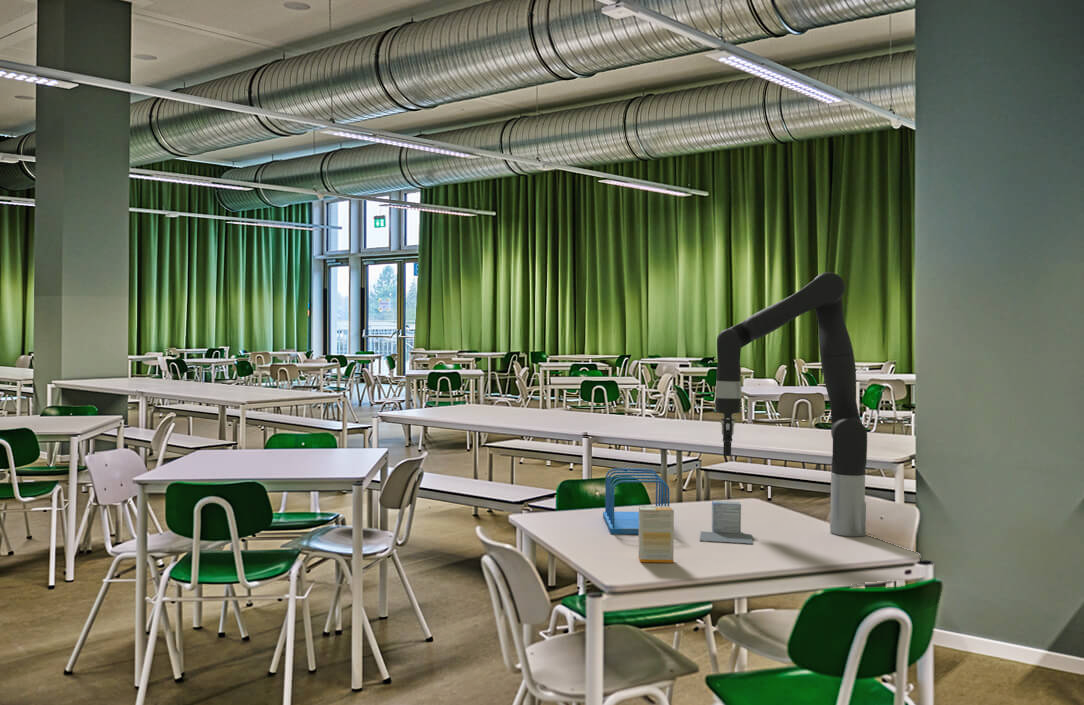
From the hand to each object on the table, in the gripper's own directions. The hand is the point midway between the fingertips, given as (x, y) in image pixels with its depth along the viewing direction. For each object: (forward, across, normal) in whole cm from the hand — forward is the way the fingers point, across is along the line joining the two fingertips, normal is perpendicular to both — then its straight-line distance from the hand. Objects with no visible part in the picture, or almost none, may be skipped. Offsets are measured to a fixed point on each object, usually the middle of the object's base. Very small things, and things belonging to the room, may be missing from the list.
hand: (727, 454), depth 259 cm
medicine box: (+21, -9, 0) cm, 23 cm away
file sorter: (+21, -7, +26) cm, 34 cm away
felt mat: (+21, -18, 0) cm, 27 cm away
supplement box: (+21, -49, +17) cm, 56 cm away
